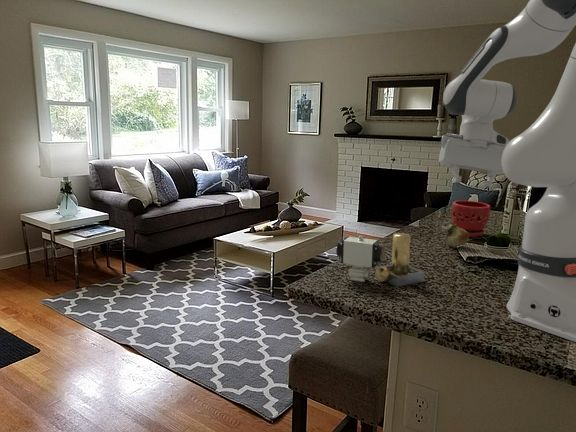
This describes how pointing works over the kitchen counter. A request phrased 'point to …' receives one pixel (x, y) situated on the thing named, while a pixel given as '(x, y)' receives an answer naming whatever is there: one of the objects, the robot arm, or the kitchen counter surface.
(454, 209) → the plant pot
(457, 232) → the onion
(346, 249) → the pneumatic valve
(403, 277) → the grey rectangular tray
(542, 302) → the robot arm
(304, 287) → the kitchen counter surface
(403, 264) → the pipe fitting
